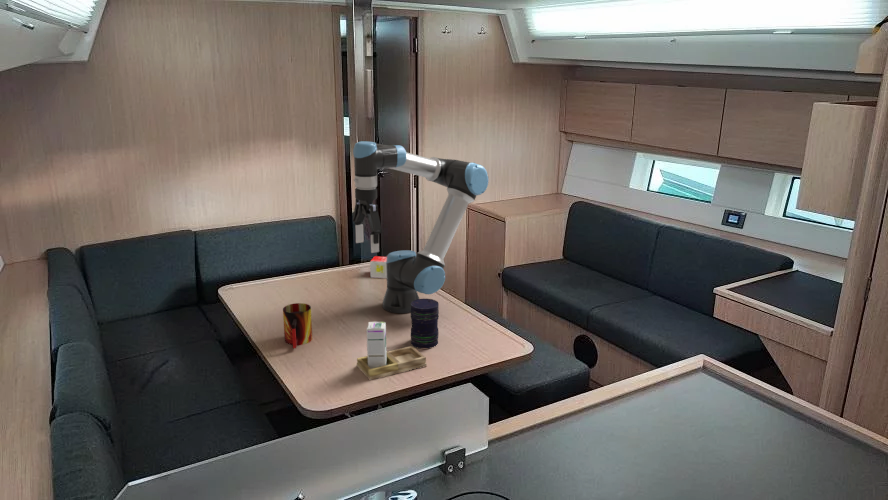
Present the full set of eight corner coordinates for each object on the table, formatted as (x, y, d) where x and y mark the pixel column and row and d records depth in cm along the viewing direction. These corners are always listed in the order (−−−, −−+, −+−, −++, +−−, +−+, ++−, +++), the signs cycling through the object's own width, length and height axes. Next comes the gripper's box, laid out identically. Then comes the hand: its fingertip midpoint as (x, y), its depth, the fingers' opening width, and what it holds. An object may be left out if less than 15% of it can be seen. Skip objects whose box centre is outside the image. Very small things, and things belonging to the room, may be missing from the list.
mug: (293, 352, 221) (291, 319, 217) (281, 337, 232) (279, 306, 229) (320, 346, 226) (319, 314, 222) (306, 332, 237) (305, 301, 233)
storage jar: (428, 351, 223) (428, 310, 218) (405, 344, 228) (404, 304, 223) (443, 341, 231) (444, 302, 227) (420, 334, 236) (421, 296, 232)
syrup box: (385, 370, 206) (385, 328, 202) (367, 370, 206) (366, 328, 202) (387, 362, 212) (386, 321, 208) (368, 362, 212) (368, 321, 208)
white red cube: (370, 277, 297) (370, 261, 294) (375, 272, 304) (374, 256, 302) (387, 278, 295) (387, 262, 293) (391, 273, 303) (391, 257, 301)
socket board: (411, 353, 221) (411, 345, 220) (426, 366, 212) (426, 358, 211) (356, 365, 211) (356, 357, 210) (370, 380, 202) (369, 371, 201)
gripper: (342, 182, 230) (344, 239, 236) (370, 195, 209) (371, 257, 215) (362, 180, 233) (363, 237, 240) (391, 193, 213) (392, 255, 219)
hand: (367, 247), depth 227 cm, fingers open, 13 cm apart
